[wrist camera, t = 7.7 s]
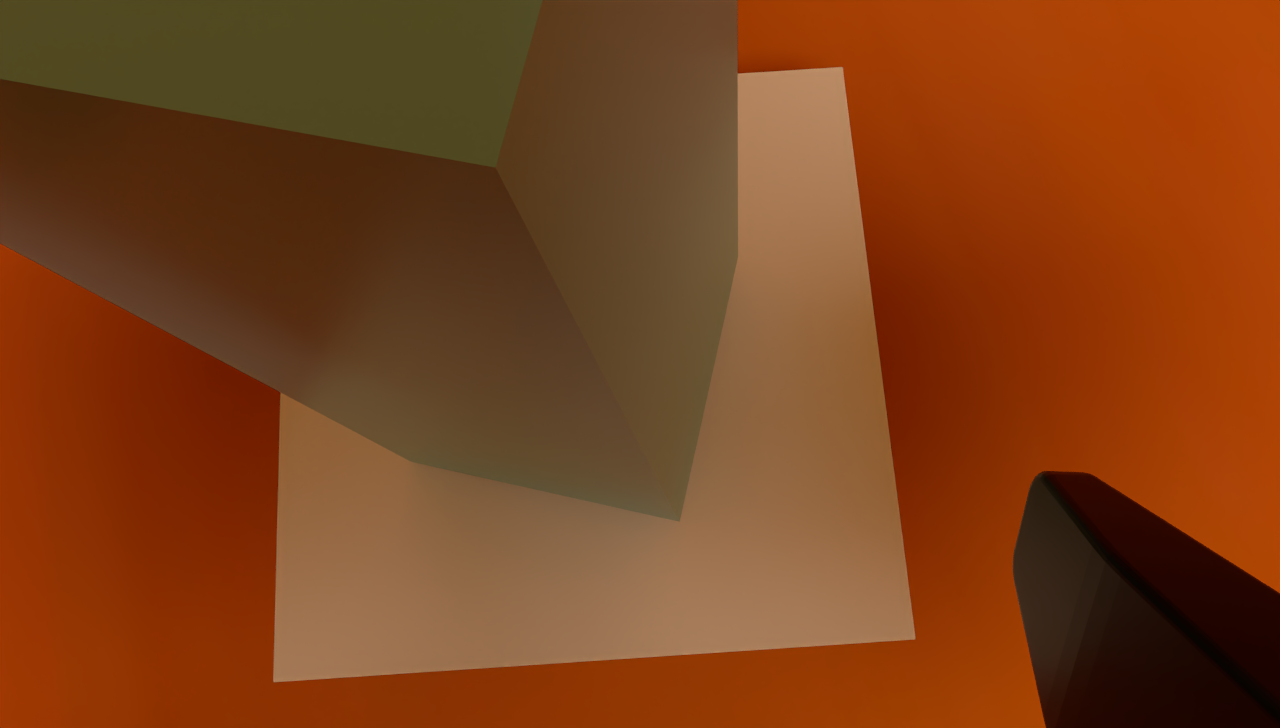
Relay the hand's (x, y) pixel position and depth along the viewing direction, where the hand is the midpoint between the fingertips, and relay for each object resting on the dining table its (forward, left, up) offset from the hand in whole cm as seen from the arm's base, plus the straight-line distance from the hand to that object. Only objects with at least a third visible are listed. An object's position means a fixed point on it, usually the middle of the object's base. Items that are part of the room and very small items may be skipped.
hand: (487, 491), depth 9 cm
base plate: (+4, 0, -11) cm, 12 cm away
